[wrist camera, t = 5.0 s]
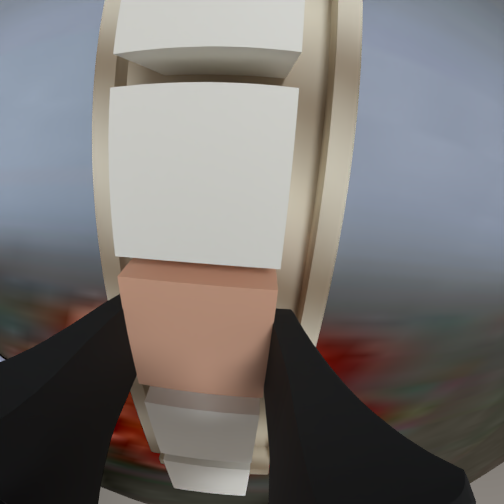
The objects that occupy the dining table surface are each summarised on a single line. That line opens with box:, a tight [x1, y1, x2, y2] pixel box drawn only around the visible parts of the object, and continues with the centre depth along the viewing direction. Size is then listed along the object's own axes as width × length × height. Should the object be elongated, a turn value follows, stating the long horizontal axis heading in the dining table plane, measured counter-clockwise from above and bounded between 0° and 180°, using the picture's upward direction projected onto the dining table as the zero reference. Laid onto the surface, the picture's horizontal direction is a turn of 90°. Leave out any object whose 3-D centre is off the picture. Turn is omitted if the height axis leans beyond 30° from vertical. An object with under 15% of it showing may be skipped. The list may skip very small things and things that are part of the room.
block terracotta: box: [117, 258, 278, 398], centre depth 10 cm, size 4×4×4 cm
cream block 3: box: [144, 386, 260, 463], centre depth 12 cm, size 4×4×4 cm
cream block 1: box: [113, 0, 305, 79], centre depth 6 cm, size 4×4×4 cm
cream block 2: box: [108, 82, 299, 269], centre depth 8 cm, size 4×4×4 cm
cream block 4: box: [163, 454, 250, 496], centre depth 14 cm, size 4×4×4 cm
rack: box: [92, 0, 363, 474], centre depth 11 cm, size 26×8×3 cm, turn 176°
